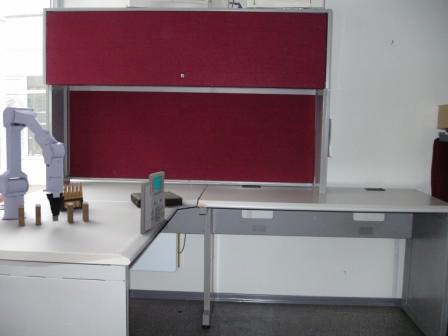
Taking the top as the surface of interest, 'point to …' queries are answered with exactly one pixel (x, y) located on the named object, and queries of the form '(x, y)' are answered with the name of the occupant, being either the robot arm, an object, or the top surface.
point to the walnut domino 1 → (21, 215)
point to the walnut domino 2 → (38, 214)
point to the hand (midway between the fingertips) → (55, 214)
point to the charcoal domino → (55, 218)
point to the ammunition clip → (72, 197)
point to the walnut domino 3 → (70, 212)
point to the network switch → (170, 199)
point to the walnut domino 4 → (85, 211)
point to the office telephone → (152, 201)
